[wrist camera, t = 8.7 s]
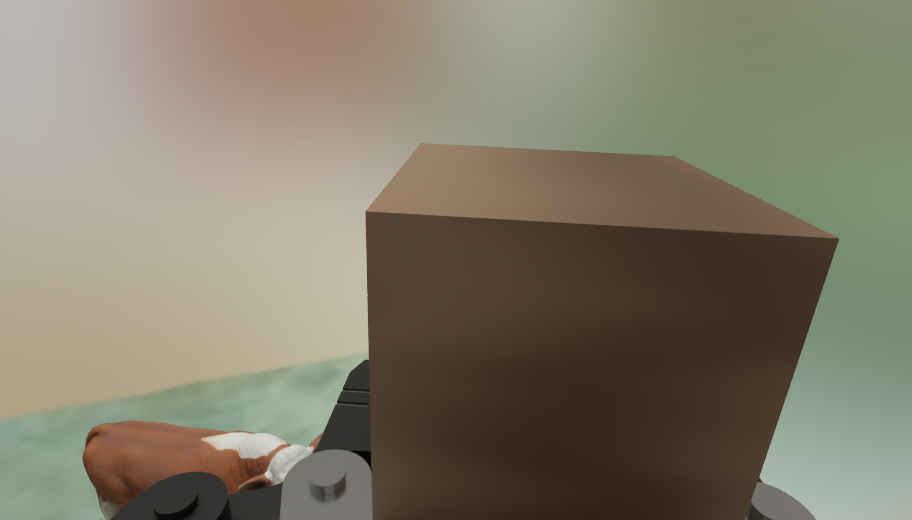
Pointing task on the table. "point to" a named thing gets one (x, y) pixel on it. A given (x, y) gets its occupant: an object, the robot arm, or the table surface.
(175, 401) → the table surface
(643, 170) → the walnut block
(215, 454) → the bull figurine
